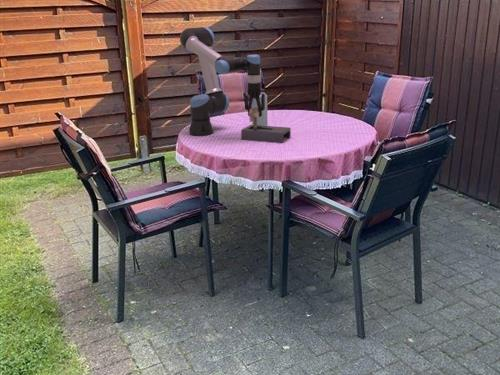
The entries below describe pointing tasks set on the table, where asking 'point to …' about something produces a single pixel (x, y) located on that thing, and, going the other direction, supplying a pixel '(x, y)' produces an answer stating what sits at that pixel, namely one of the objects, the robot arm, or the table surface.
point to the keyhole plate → (266, 133)
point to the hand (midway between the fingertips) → (255, 121)
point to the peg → (254, 116)
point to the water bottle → (264, 112)
